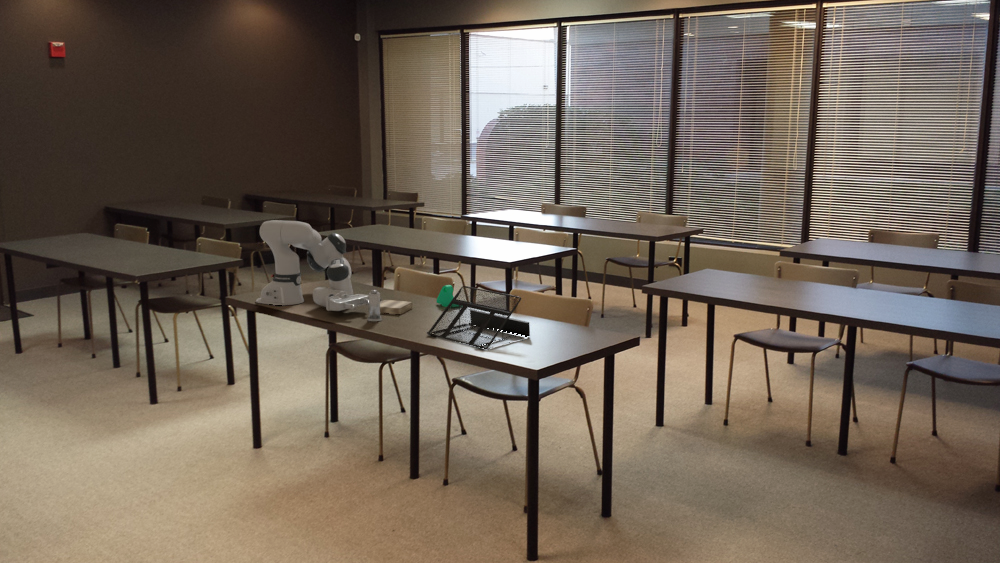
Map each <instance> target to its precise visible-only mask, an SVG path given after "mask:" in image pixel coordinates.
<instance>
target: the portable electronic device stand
mask: <svg viewBox="0 0 1000 563" xmlns="http://www.w3.org/2000/svg"><path fill="white" fill-rule="evenodd" d="M464 289H466V291H464ZM471 291H473V292H471ZM462 292H464V293H462ZM453 297H454V298H453V299H452V301H451V302H450V303H449V305H448V306H447V307H445V309H444V310H443V311H442V312H441V314H440V315H439V316H438V318H437V319H436V320H435V322H434V324H433V325H432V326H431V328H430V329H429V330H428V331H427V332H426V335H428V336H430V335H431V336H430V337H433V336H435V337H434V338H437V337H438V338H440V339H444V340H448V341H451V342H455V341H456V343H459V342H461V343H460V344H463V343H466V344H469V345H468V346H470V345H473V346H472V347H474V346H476V347H475V348H477V347H480V348H484V349H487V350H488V349H489V347H491V345H492V344H493V343H492V342H493V341H496V340H495V339H496V338H497V336H498V335H499V333H501V332H500V331H501V330H503V331H502V337H501V339H502V340H503V339H504V338H505V339H506V338H507V337H510V338H511V335H509V336H506V337H504V333H503V332H506V331H507V333H510V332H512V334H514V333H517V334H516V335H518V334H521V336H522V335H525V337H527V336H530V337H531V334H530V333H531V331H530V330H531V329H530V322H529V321H525V320H521V319H517V318H512V317H511V316H512V315H513V313H514V311H515V310H516V308H517V307H518V305H519V303H520V302H521V301H522V297H521V296H518V295H512V294H508V293H507V294H506V293H502V292H499V291H493V290H487V289H483V288H478V287H477V288H476V287H473V286H466V285H462V286H461V287H460V289H459V290H458V291H457V292H456V294H455V295H454V296H453ZM452 304H453V305H454V304H456V307H452ZM457 305H458V306H457ZM450 312H451V313H450ZM473 325H476V326H473ZM461 326H463V327H461ZM456 327H459V328H456ZM473 327H474V328H473ZM475 327H477V328H475ZM452 328H455V329H452ZM470 328H471V329H470ZM487 328H489V329H487ZM493 328H494V331H492V330H493ZM468 329H469V330H468ZM497 329H499V330H498V331H497ZM463 330H464V331H466V332H464V331H463ZM440 331H441V332H440ZM442 331H443V332H442ZM458 331H460V332H458ZM488 331H489V332H488ZM435 332H436V333H435ZM437 332H439V333H437ZM454 332H455V333H454ZM456 332H457V333H456ZM467 332H469V333H467ZM432 333H434V334H432ZM451 333H453V334H451ZM471 333H473V334H471ZM449 334H450V335H449ZM480 335H482V336H480ZM483 336H486V337H483ZM512 336H514V335H512ZM487 337H488V338H487ZM489 337H490V338H489ZM491 338H492V339H491ZM501 339H500V338H499V339H498V340H501ZM520 339H522V338H521V337H520ZM503 341H504V340H503ZM491 343H492V344H491ZM466 344H465V345H466ZM482 344H483V345H484V344H486V345H484V346H482ZM487 344H488V345H487ZM479 345H481V346H479Z"/></svg>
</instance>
